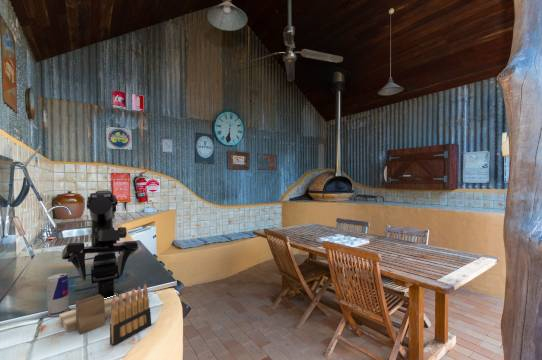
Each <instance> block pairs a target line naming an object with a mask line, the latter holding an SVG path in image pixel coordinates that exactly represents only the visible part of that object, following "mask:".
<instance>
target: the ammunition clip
mask: <svg viewBox="0 0 542 360" xmlns="http://www.w3.org/2000/svg"><path fill="white" fill-rule="evenodd" d="M134 290H135V288H132V290H131V291H132V293H131V305H130V297H129V293H128V292H129V291H126V292H125V293H126V294H125V307H124V304H123V297H122V295H121V294H122V293H119V294H120V295H119V300H118V311H117V303H116V299H115V297H113V299H112V305H111V316H110V324H109V345H111V346H114V345H115V346H117V345H119V344H120V343H123V342H124V341H126V340H127V339H130V338H131V337H133V336H135V335H137V334H138V333H140V332H141V331H144V330H146V329H147V328H149V327H151V326H152V312H151V307H150V299H149V293H148V287H147V284H146V283H144V285H143V289H141V286H138V287H137V302H136V294H135V291H134ZM142 294H143V299H142ZM115 346H114V347H115Z"/></svg>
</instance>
